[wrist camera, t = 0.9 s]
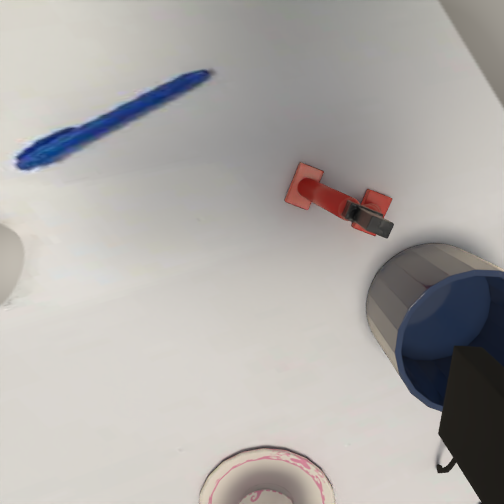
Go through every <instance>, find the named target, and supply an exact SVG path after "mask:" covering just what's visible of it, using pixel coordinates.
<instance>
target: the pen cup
mask: <svg viewBox="0 0 504 504" xmlns="http://www.w3.org/2000/svg"><path fill="white" fill-rule="evenodd" d="M366 314H367V319H368V323H369V326H370V329H371V331H372V333H373V335H374V336H375V338H376V339H377V341H378V343H379V344H380V346H381V347H382V349H383V351H384V352H385V354H386V355H387V357H388V358H389V360H390V362H391V363H392V365H393V366H394V368H395V369H396V371H397V372H398V374H399V376H400V377H401V379H402V380H403V382H404V383H405V385H406V387H407V388H408V390H409V391H410V393H411V394H412V395H414V396H415V397H416V398H417V399H419V400H420V401H421V402H423V403H424V404H425V405H426V406H428V407H430V408H433V409H436V410H438V411H441V412H442V410H443V404H444V399H445V393H446V387H447V382H448V376H449V371H450V365H451V359H452V354H453V348H454V346H472V347H482V348H483V349H485V350H486V351H487V352H488V353H489V354H490V355H491V356H492V357H493V358H495V359H496V360H497V361H498V362H499V363H500V364H501V365H502V366H503V367H504V269H502V268H500V267H498V266H496V265H494V264H492V263H490V262H488V261H486V260H484V259H482V258H480V257H478V256H476V255H474V254H472V253H470V252H467V251H465V250H462V249H460V248H458V247H455V246H452V245H448V244H442V243H429V244H422V245H417V246H414V247H411V248H408V249H406V250H404V251H402V252H400V253H399V254H397V255H396V256H394V257H393V258H391V259H390V260H389V261H388V262H387V263H386V264H385V265H384V266H383V267H382V268H381V269H380V270H379V272H378V273H377V275H376V276H375V278H374V280H373V282H372V284H371V286H370V289H369V292H368V296H367V303H366Z"/></svg>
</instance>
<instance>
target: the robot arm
mask: <svg viewBox="0 0 504 504" xmlns="http://www.w3.org/2000/svg"><path fill="white" fill-rule="evenodd" d="M438 434H439V436H440V437H441V439H442V440H443V442H444V444H445V445H446V447H447V448H448V450H449V451H450V453H451V455H452V456H453V458H454V459H455V461H456V462H457V464H458V466H459V467H460V469H461V470H462V472H463V474H464V475H465V477H466V478H467V480H468V481H469V483H470V485H471V486H472V488H473V489H474V491H475V493H476V494H477V496H478V497H479V499H480V500H481V502H482V504H504V367H503V366H502V365H501V364H500V363H499V362H498V361H497V360H496V359H495V358H493V357H492V356H491V355H490V354H489V353H488V352H487V351H486V350H485V349H483V348H482V347H472V346H454V348H453V354H452V359H451V365H450V371H449V376H448V382H447V387H446V393H445V399H444V404H443V410H442V416H441V421H440V427H439V432H438Z"/></svg>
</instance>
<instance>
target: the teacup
mask: <svg viewBox="0 0 504 504" xmlns="http://www.w3.org/2000/svg"><path fill="white" fill-rule="evenodd" d="M199 504H335V499H334V494H333V489H332V486H331V484H330V483H329V481H328V480H327V478H326V476H325V475H324V473H323V472H322V470H320V469H319V468H318V467H317V466H315V465H314V464H313V463H312V462H310V461H309V460H308V459H307V458H305V457H302V456H300V455H297V454H295V453H292V452H290V451H287V450H279V449H268V448H262V449H256V450H251V451H245V452H242V453H239V454H237V455H235V456H233V457H231V458H229V459H227V460H225V461H223V462H222V463H221V464H220V465H219V466H218V467H217V468H216V469H215V470H214V471H213V472H212V473H211V474H210V475H209V476H208V478H207V480H206V482H205V484H204V486H203V488H202V490H201V492H200V500H199Z"/></svg>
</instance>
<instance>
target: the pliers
mask: <svg viewBox="0 0 504 504" xmlns="http://www.w3.org/2000/svg"><path fill="white" fill-rule="evenodd" d="M323 173H324V171H322V170H319V169H317V168H314V167H311V166H309V165H306V164H304V163H301V162H300V163H299V165H298V168H297V170H296V173H295V175H294V178H293V180H292V183H291V185H290V188H289V190H288V193H287V195H286V198H285V202H287V203H290V204H292V205H295V206H298V207H300V208H303V209H305V210H308V209H309V207H310V204H311V202H313V203H315V204H316V205H318V206H320V207H322V208H323V209H325V210H327V211H329V212H331V213H332V214H334V215H336V216H338V217H339V218H341V219H343V220H346V221H352V222H353V223H352V227H353V228H355V229H357V230H360V231H363V232H365V233H368V234H371V235H373V236H376V234H377V235H379V236H382V237H384V238H388V236H389V234H390V232H391V230H392V228H393V226H394V224H393V223H392V222H390V221H388V220H386V219H385V218H384V216H385V214H386V212H387V210H388V208H389V205H390V203H391V201H392V198H390V197H388V196H385V195H383V194H380V193H378V192H375V191H372V190H370V189H367V191H366V194H365V196H364V198H363V200H362V203H361V204H360V203H359V202H358V201H357V200H356V199H355V198H352V197H350V196H348V195H346V194H344V193H341V192H339V191H337V190H335V189H333V188H330V187H328V186H326V185H324V184H322V183H320V180H321V178H322V175H323Z"/></svg>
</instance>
